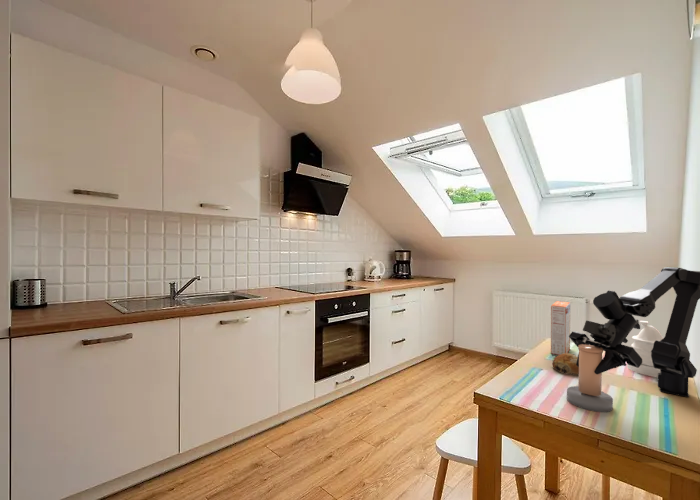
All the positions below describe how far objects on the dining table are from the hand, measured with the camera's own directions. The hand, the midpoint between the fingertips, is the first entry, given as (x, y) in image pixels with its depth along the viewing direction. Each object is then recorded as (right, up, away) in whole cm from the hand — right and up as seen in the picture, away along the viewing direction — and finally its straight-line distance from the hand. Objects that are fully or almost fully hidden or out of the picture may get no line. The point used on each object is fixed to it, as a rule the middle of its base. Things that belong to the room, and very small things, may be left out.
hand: (586, 369), depth 99 cm
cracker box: (+23, -9, +49) cm, 55 cm away
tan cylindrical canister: (+1, -7, 0) cm, 7 cm away
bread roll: (+12, -10, +26) cm, 30 cm away
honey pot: (+42, -10, +27) cm, 51 cm away
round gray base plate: (+1, -10, +1) cm, 10 cm away
